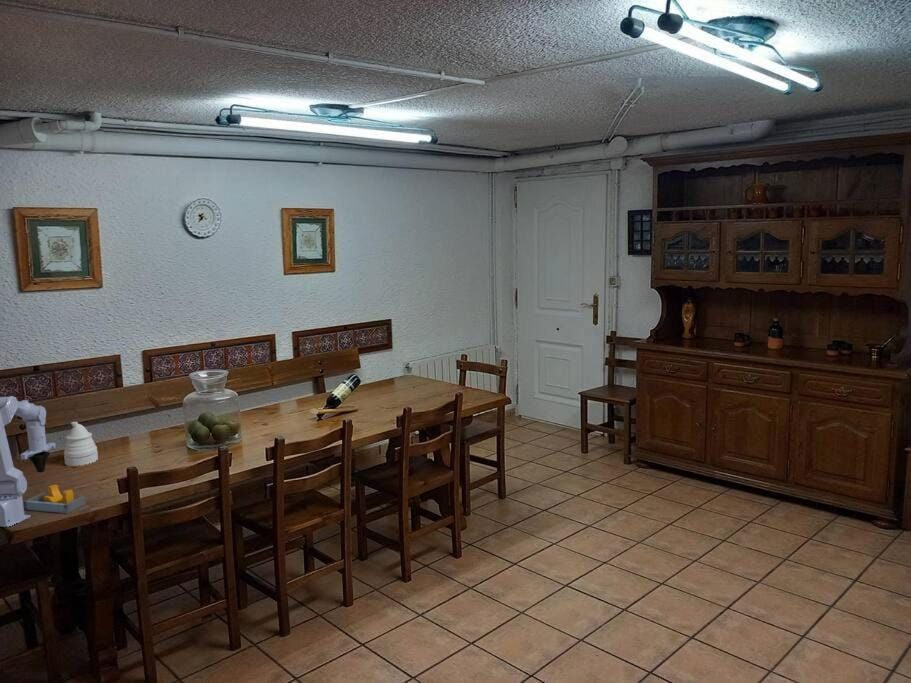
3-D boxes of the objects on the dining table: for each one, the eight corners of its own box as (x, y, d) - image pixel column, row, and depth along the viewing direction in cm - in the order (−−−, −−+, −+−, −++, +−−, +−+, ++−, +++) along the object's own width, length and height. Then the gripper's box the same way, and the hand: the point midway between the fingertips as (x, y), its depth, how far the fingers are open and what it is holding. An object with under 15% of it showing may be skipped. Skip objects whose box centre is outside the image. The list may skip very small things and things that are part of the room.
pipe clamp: (45, 504, 258) (43, 488, 257) (57, 500, 261) (55, 484, 260) (62, 511, 251) (60, 494, 250) (74, 507, 255) (72, 490, 254)
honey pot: (84, 466, 299) (79, 426, 296) (58, 465, 301) (53, 424, 298) (104, 457, 311) (100, 417, 308) (79, 455, 314) (75, 416, 311)
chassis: (67, 513, 249) (66, 505, 249) (24, 509, 253) (23, 501, 253) (85, 503, 258) (84, 496, 257) (43, 500, 262) (42, 492, 261)
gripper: (30, 443, 255) (34, 479, 257) (60, 432, 269) (64, 466, 271) (14, 442, 257) (18, 477, 259) (45, 431, 271) (49, 464, 273)
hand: (40, 471), depth 265 cm, fingers closed
